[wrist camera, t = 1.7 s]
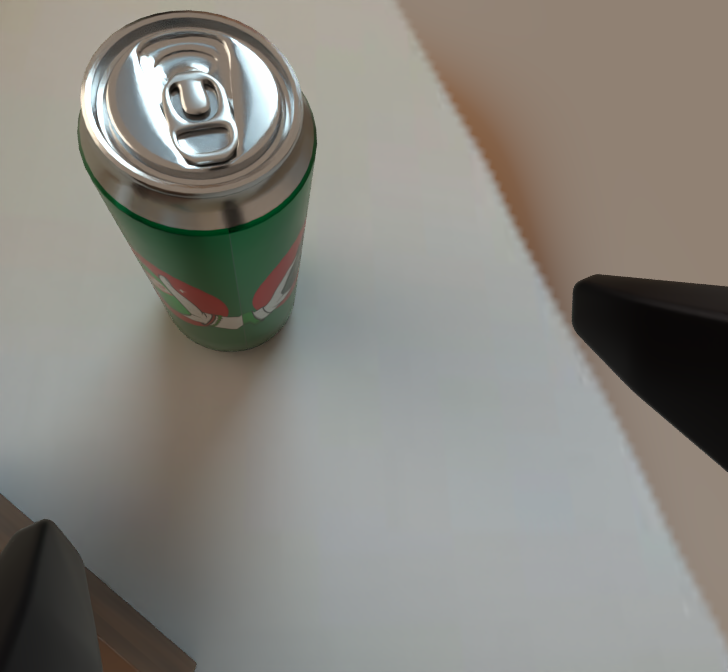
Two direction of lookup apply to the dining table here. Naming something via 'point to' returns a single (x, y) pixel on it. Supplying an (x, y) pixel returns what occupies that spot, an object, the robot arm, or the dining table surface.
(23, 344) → the dining table surface
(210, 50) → the soda can
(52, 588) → the robot arm
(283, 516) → the dining table surface
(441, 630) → the dining table surface
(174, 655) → the low shelf
